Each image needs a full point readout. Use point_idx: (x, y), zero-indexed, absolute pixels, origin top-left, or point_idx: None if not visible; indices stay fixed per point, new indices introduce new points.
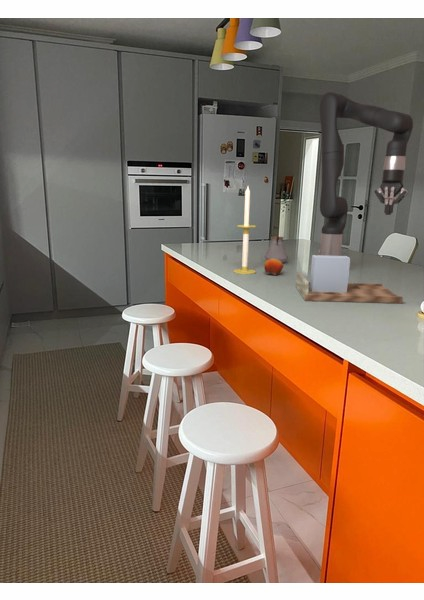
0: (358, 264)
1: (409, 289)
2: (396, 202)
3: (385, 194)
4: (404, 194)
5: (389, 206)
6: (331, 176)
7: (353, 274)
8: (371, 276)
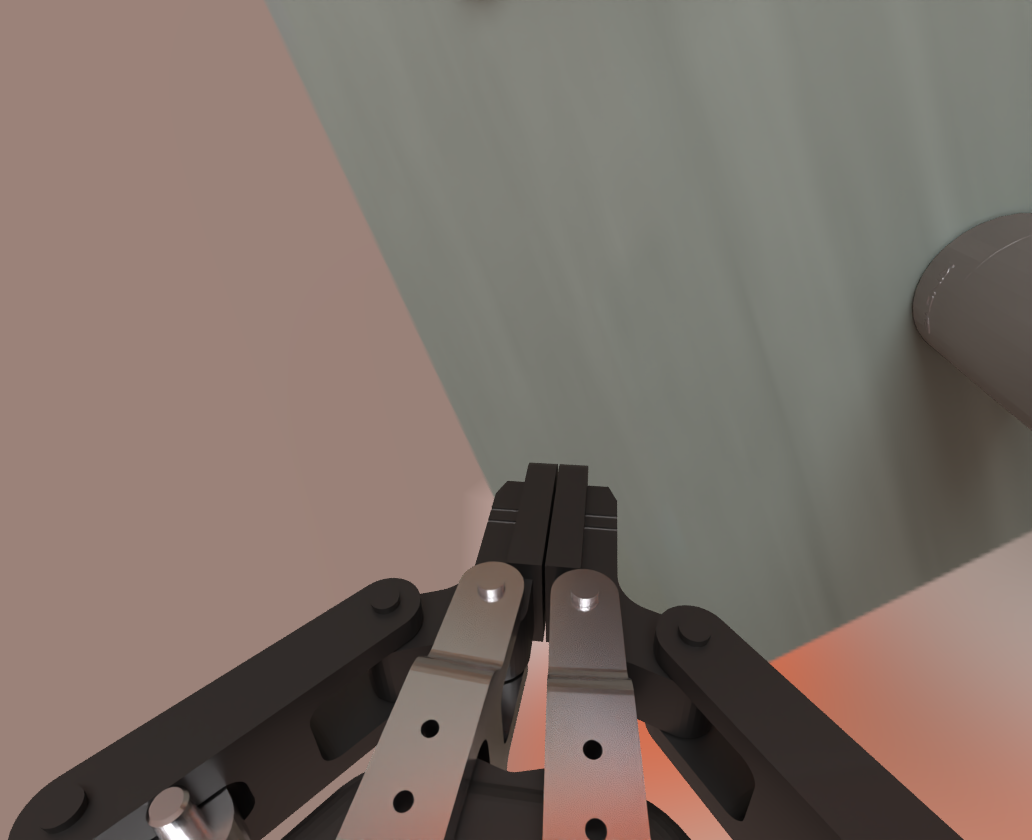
0: (853, 608)
1: (378, 143)
2: (366, 594)
3: (618, 782)
4: (110, 745)
5: (519, 548)
6: None
7: (800, 321)
8: (684, 343)
